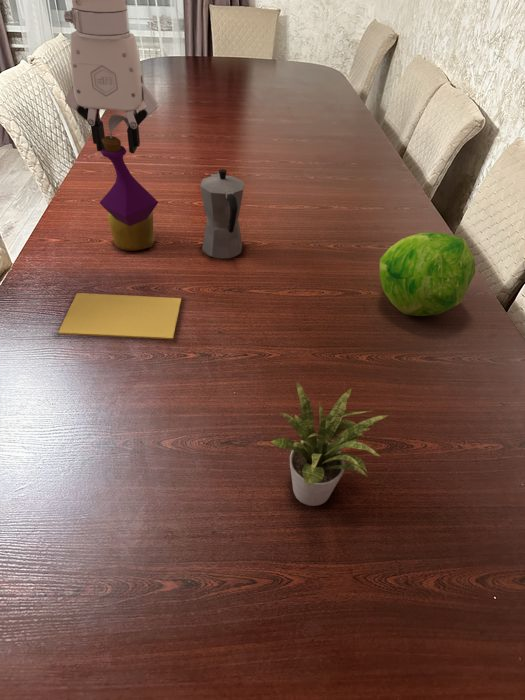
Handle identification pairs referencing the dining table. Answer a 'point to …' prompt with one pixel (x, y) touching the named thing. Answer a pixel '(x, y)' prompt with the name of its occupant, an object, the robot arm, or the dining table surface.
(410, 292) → the lettuce
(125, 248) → the mug
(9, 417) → the dining table surface
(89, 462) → the dining table surface
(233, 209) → the coffeepot
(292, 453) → the house plant
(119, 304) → the yellow rectangular board
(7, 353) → the dining table surface
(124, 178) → the purple potion bottle
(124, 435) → the dining table surface
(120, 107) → the robot arm
